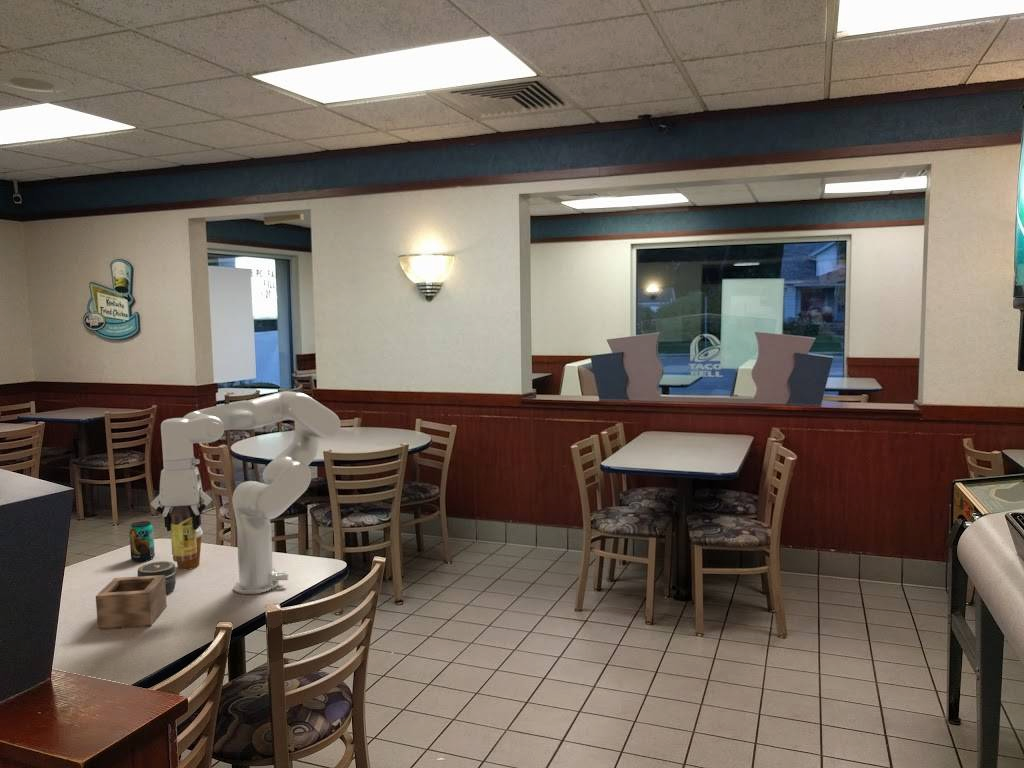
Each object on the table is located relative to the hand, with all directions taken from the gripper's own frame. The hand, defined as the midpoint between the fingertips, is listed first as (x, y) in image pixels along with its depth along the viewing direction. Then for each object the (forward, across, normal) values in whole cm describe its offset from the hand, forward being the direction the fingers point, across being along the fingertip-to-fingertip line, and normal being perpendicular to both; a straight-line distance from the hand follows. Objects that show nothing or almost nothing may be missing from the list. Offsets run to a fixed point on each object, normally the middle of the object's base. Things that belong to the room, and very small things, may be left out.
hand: (183, 528), depth 202 cm
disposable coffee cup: (+23, +10, -36) cm, 43 cm away
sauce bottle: (+9, 0, 0) cm, 9 cm away
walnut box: (+23, +13, +4) cm, 26 cm away
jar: (+23, +12, -14) cm, 30 cm away
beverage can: (+23, +26, -46) cm, 57 cm away
